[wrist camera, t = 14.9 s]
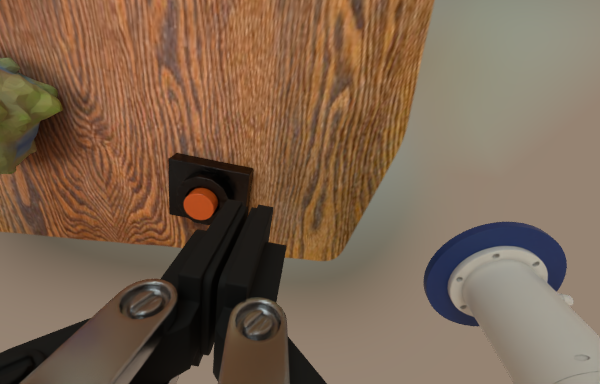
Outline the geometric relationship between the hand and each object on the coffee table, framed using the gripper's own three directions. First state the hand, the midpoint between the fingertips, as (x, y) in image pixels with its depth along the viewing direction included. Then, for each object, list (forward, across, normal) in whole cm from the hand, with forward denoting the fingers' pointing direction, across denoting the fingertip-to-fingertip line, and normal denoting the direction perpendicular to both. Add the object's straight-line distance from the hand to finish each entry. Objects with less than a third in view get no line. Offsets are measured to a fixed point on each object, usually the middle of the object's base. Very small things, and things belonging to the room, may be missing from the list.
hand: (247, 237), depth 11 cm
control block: (+25, +10, +12) cm, 29 cm away
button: (+21, +10, +12) cm, 26 cm away
